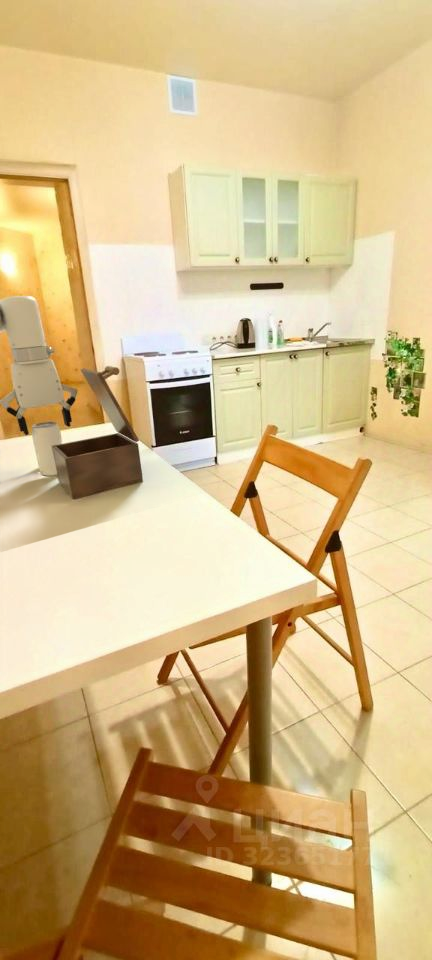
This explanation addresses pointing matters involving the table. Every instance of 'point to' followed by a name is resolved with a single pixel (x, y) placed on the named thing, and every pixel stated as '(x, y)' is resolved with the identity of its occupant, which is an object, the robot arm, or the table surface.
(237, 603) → the table surface
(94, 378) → the lid
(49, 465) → the can
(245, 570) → the table surface
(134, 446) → the chest
